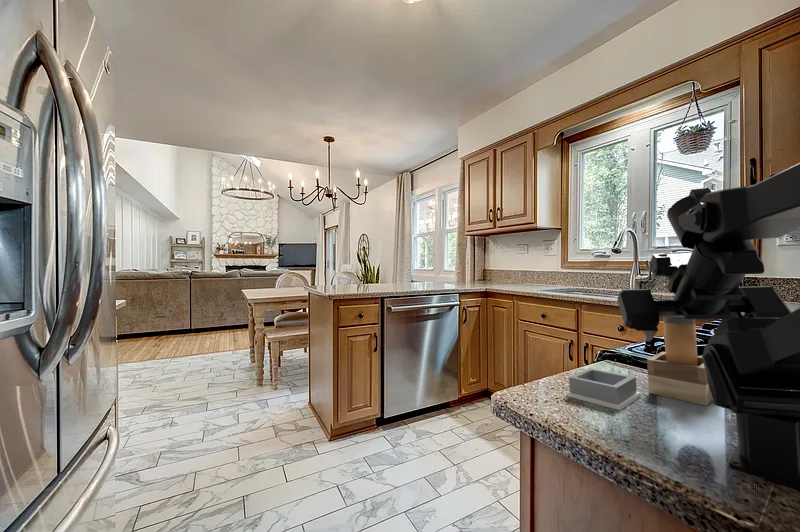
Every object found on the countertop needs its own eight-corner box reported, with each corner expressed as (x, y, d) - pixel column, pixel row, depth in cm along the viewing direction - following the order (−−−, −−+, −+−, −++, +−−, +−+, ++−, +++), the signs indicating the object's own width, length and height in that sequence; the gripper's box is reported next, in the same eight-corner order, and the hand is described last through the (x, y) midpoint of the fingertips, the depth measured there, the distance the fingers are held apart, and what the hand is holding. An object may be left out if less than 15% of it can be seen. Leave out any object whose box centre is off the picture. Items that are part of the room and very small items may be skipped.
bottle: (694, 380, 52) (690, 315, 53) (663, 374, 56) (659, 313, 56) (701, 374, 55) (697, 312, 55) (671, 369, 58) (667, 310, 58)
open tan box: (706, 405, 50) (704, 368, 50) (649, 393, 56) (647, 359, 56) (718, 393, 54) (716, 358, 54) (663, 382, 60) (662, 351, 60)
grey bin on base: (620, 410, 50) (618, 389, 50) (566, 395, 56) (565, 377, 56) (640, 396, 55) (639, 376, 55) (589, 384, 61) (588, 367, 61)
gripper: (772, 228, 47) (730, 299, 58) (617, 238, 53) (604, 301, 64) (823, 289, 40) (764, 358, 50) (636, 293, 46) (618, 354, 56)
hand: (680, 339), depth 55 cm, fingers open, 9 cm apart
